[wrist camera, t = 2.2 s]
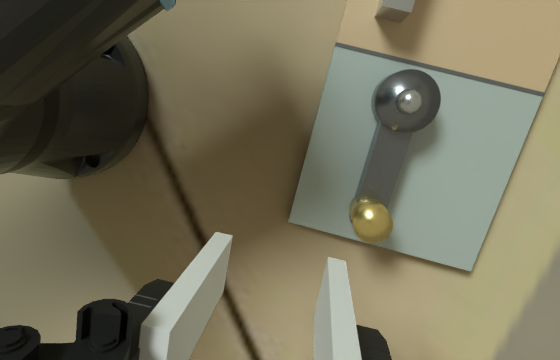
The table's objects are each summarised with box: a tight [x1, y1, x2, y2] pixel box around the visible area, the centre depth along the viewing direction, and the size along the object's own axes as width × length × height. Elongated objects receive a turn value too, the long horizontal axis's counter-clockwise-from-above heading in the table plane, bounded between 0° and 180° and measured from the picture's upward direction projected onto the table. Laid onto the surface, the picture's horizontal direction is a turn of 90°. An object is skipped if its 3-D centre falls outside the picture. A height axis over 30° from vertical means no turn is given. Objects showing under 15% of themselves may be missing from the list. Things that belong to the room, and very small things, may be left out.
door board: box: [288, 0, 560, 272], centre depth 28 cm, size 16×24×1 cm, turn 166°
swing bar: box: [349, 69, 441, 243], centre depth 27 cm, size 13×4×4 cm, turn 166°
